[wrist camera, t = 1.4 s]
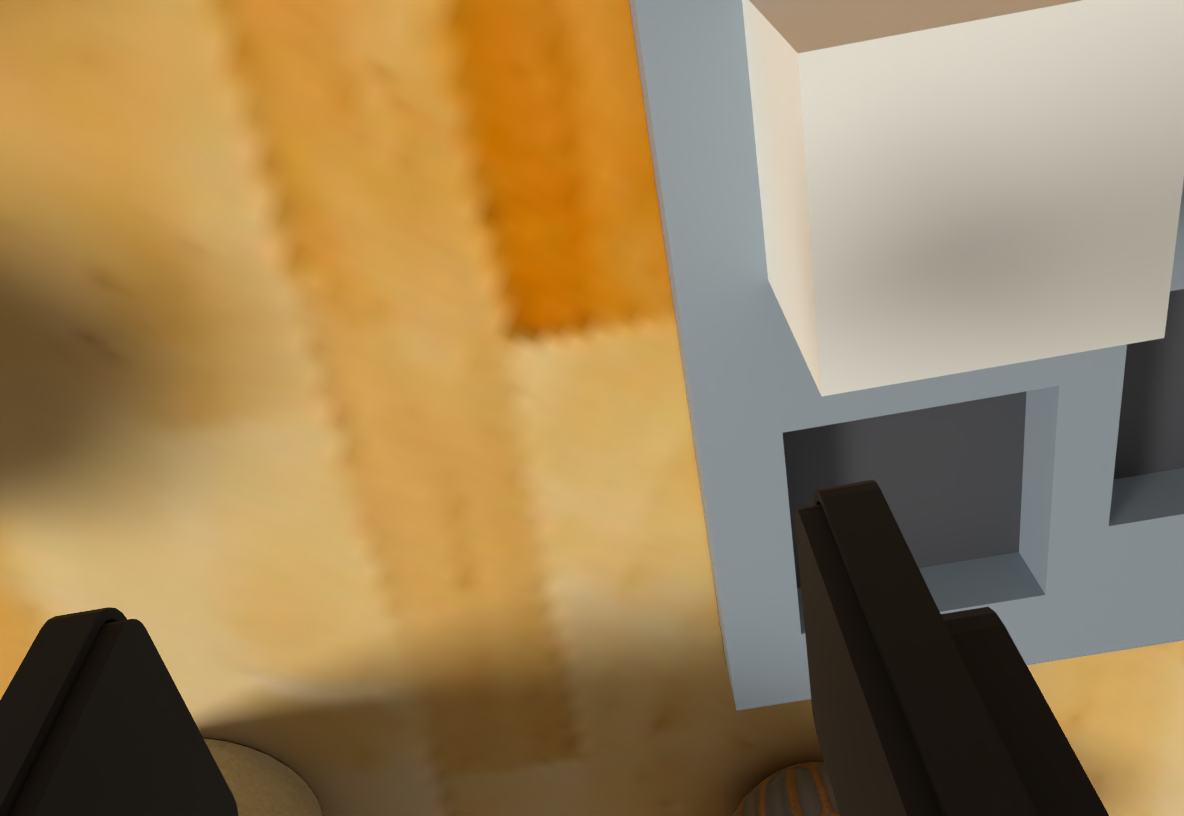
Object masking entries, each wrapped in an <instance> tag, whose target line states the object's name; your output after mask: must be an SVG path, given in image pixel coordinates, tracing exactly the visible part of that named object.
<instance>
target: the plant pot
mask: <svg viewBox="0 0 1184 816" xmlns="http://www.w3.org/2000/svg"><path fill="white" fill-rule="evenodd" d="M203 739H204V738H203ZM204 741H205V742H206V744H207V746H208V748H209V750H210V752H211V754H212V756H213V758H214V760H215V762H216V763H217V765H218V767H219V769H220V771H221V773H222V775H223V777H224V779H225V781H226V783H227V784H228V786H229V788H230V790H231V792H232V794H233V796H234V798H235V801H236V804H237V809H238V816H323V814H322V811H321V807H320V804H319V802H318V800H317V798H316V796H315V795H314V793H313V792H312V790H311V789H310V788H309V786H308V785H307V784H306V783H305V781H304V780H303V779H302V778H300V777H299V776H298V775H297V774H296V773H295V772H294V771H293V770H292V769H291V768H289V767H287V766H286V765H284V764H282V763H281V762H279V761H277V760H276V759H274V758H272V757H271V756H269V755H266V754H264V753H261V752H259V751H257V750H254V749H252V748H249V747H246V746H242V745H238V744H234V743H230V742H227V741H220V740H213V739H204Z"/></svg>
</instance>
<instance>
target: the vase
mask: <svg viewBox="0 0 1184 816" xmlns="http://www.w3.org/2000/svg"><path fill="white" fill-rule="evenodd" d="M732 816H840V813H839V810H838V807H837V803H836V800H835V796H834V793H833V790H832V786H831V783H830V779H829V776H828V773H827V769H826V766H825V762H806V763H800V764H795V765H792V766H788V767H786V768H783V769H781V770H778V771H776V772H775V773H773V774H771V775H769V776H768V777H766V778H765V779H764V780H762V781H761V782H760V783H759V784H758V785H757V786H755V787H754V788H753V789H752V790H751V791H750V792H749V793H748V794H747V795H746V796H745V798H744V799H743V800H742V801H741V803H740V804H739V805H738V807H737V809H736V810H735V812H734V813H733V815H732Z"/></svg>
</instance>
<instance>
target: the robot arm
mask: <svg viewBox="0 0 1184 816" xmlns="http://www.w3.org/2000/svg"><path fill="white" fill-rule="evenodd" d="M795 527H796V538H797V549H798V560H799V571H800V581H801V592H802V603H803V614H804V625H805V636H806V647H807V658H808V669H809V680H810V691H811V702H812V711H813V717H814V723H815V728H816V733H817V737H818V741H819V745H820V749H821V752H822V755H823V759H824V762H825V766H826V769H827V773H828V776H829V779H830V783H831V786H832V790H833V793H834V796H835V800H836V803H837V807H838V810H839V813H840V816H1109V815H1108V813H1107V811H1106V809H1105V808H1104V806H1103V804H1102V802H1101V800H1100V798H1099V797H1098V795H1097V793H1096V791H1095V789H1094V787H1093V786H1092V784H1091V782H1090V780H1089V778H1088V777H1087V775H1086V773H1085V771H1084V769H1083V767H1082V766H1081V764H1080V762H1079V760H1078V758H1077V756H1076V755H1075V753H1074V751H1073V749H1072V747H1071V746H1070V744H1069V742H1068V740H1067V738H1066V736H1065V735H1064V733H1063V731H1062V729H1061V727H1060V725H1059V724H1058V722H1057V720H1056V718H1055V716H1054V715H1053V713H1052V711H1051V709H1050V707H1049V705H1048V704H1047V702H1046V700H1045V698H1044V696H1043V694H1042V693H1041V691H1040V689H1039V687H1038V685H1037V684H1036V682H1035V680H1034V678H1033V676H1032V674H1031V673H1030V671H1029V669H1028V667H1027V665H1026V663H1025V662H1024V660H1023V658H1022V656H1021V654H1020V653H1019V651H1018V649H1017V647H1016V645H1015V643H1014V642H1013V640H1012V638H1011V636H1010V634H1009V632H1008V631H1007V629H1006V627H1005V625H1004V624H1003V622H1002V621H1001V619H1000V618H999V616H998V615H997V613H996V612H995V611H993V610H992V609H991V608H990V607H983V608H976V609H970V610H964V611H958V612H952V613H945V614H940V612H939V610H938V607H937V605H936V603H935V601H934V599H933V597H932V595H931V593H930V591H929V589H928V587H927V585H926V582H925V580H924V578H923V576H922V574H921V572H920V570H919V568H918V566H917V564H916V562H915V560H914V558H913V555H912V553H911V551H910V549H909V547H908V545H907V543H906V541H905V539H904V537H903V535H902V533H901V530H900V528H899V526H898V524H897V522H896V520H895V518H894V516H893V514H892V512H891V510H890V508H889V505H888V503H887V501H886V499H885V497H884V495H883V493H882V491H881V489H880V487H879V485H878V484H877V482H876V481H874V480H868V481H862V482H856V483H850V484H844V485H838V486H832V487H826V488H820V489H816V490H815V491H814V505H813V506H807V507H801V508H796V509H795ZM0 816H238V809H237V804H236V801H235V798H234V796H233V794H232V792H231V790H230V788H229V786H228V784H227V783H226V781H225V779H224V777H223V775H222V773H221V771H220V769H219V767H218V765H217V763H216V762H215V760H214V758H213V756H212V754H211V752H210V750H209V748H208V746H207V744H206V742H205V741H204V739H203V737H202V735H201V733H200V731H199V729H198V727H197V725H196V723H195V722H194V720H193V718H192V716H191V714H190V712H189V710H188V708H187V706H186V704H185V702H184V701H183V699H182V697H181V695H180V693H179V691H178V689H177V687H176V685H175V683H174V681H173V680H172V678H171V676H170V674H169V672H168V670H167V668H166V666H165V664H164V662H163V660H162V659H161V657H160V655H159V653H158V651H157V649H156V647H155V645H154V643H153V641H152V639H151V638H150V636H149V634H148V632H147V630H146V628H145V627H144V625H143V624H142V623H141V622H140V621H138V620H137V619H129V620H127V619H126V617H125V616H124V614H123V613H122V612H120V611H119V610H118V609H116V608H103V609H97V610H91V611H85V612H79V613H73V614H67V615H61V616H55V617H53V618H51V619H49V620H48V621H47V622H46V623H45V624H44V626H43V627H42V628H41V630H40V631H39V633H38V635H37V637H36V639H35V640H34V642H33V644H32V646H31V647H30V649H29V651H28V653H27V654H26V656H25V658H24V660H23V661H22V663H21V665H20V667H19V669H18V670H17V672H16V674H15V676H14V677H13V679H12V681H11V683H10V684H9V686H8V688H7V690H6V691H5V693H4V695H3V697H2V699H1V700H0Z"/></svg>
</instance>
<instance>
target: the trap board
mask: <svg viewBox="0 0 1184 816" xmlns="http://www.w3.org/2000/svg"><path fill="white" fill-rule="evenodd" d="M629 2H630V9H631V16H632V23H633V30H634V37H635V44H636V50H637V57H638V64H639V71H640V78H641V85H642V91H643V98H644V105H645V112H646V119H647V126H648V133H649V139H650V146H651V153H652V160H653V167H654V174H655V181H656V187H657V194H658V201H659V208H660V215H661V222H662V229H663V235H664V242H665V249H666V256H667V263H668V270H669V277H670V283H671V290H672V297H673V304H674V311H675V318H676V325H677V331H678V338H679V345H680V352H681V359H682V366H683V373H684V379H685V386H686V393H687V400H688V407H689V414H690V421H691V427H692V434H693V441H694V448H695V455H696V462H697V468H698V475H699V482H700V489H701V496H702V503H703V510H704V516H705V523H706V530H707V537H708V544H709V551H710V558H711V564H712V571H713V578H714V585H715V592H716V599H717V606H718V612H719V619H720V626H721V633H722V640H723V647H724V654H725V660H726V665H727V669H728V674H729V679H730V683H731V688H732V693H733V697H734V702H735V706H736V711H739V710H745V709H751V708H758V707H764V706H770V705H777V704H783V703H789V702H796V701H802V700H808V699H811V691H810V680H809V669H808V658H807V647H806V636H805V625H804V614H803V603H802V592H801V581H800V571H799V560H798V549H797V538H796V527H795V509H796V508H801V507H807V506H813V505H814V491H815V490H816V489H820V488H826V487H832V486H838V485H844V484H850V483H856V482H862V481H868V480H874V481H876V482H877V484H878V485H879V487H880V489H881V491H882V493H883V495H884V497H885V499H886V501H887V503H888V505H889V508H890V510H891V512H892V514H893V516H894V518H895V520H896V522H897V524H898V526H899V528H900V530H901V533H902V535H903V537H904V539H905V541H906V543H907V545H908V547H909V549H910V551H911V553H912V555H913V558H914V560H915V562H916V564H917V566H918V568H919V570H920V572H921V574H922V576H923V578H924V580H925V582H926V585H927V587H928V589H929V591H930V593H931V595H932V597H933V599H934V601H935V603H936V605H937V607H938V610H939V612H940V614H945V613H952V612H958V611H964V610H970V609H976V608H983V607H990V608H991V609H992V610H993V611H995V612H996V613H997V615H998V616H999V618H1000V619H1001V621H1002V622H1003V624H1004V625H1005V627H1006V629H1007V631H1008V632H1009V634H1010V636H1011V638H1012V640H1013V642H1014V643H1015V645H1016V647H1017V649H1018V651H1019V653H1020V654H1021V656H1022V658H1023V660H1024V662H1025V663H1026V665H1030V664H1036V663H1043V662H1049V661H1055V660H1062V659H1068V658H1074V657H1081V656H1087V655H1093V654H1100V653H1106V652H1112V651H1119V650H1125V649H1131V648H1138V647H1144V646H1150V645H1157V644H1163V643H1169V642H1176V641H1182V640H1184V180H1183V189H1182V197H1181V205H1180V213H1179V221H1178V230H1177V238H1176V246H1175V254H1174V262H1173V271H1172V279H1171V287H1170V295H1169V304H1168V312H1167V320H1166V328H1165V336H1164V338H1161V339H1155V340H1149V341H1144V342H1138V343H1132V344H1126V345H1120V346H1114V347H1109V348H1103V349H1097V350H1091V351H1085V352H1079V353H1073V354H1068V355H1062V356H1056V357H1050V358H1044V359H1038V360H1033V361H1027V362H1021V363H1015V364H1009V365H1003V366H997V367H992V368H986V369H980V370H974V371H968V372H962V373H957V374H951V375H945V376H939V377H933V378H927V379H921V380H916V381H910V382H904V383H898V384H892V385H886V386H881V387H875V388H869V389H863V390H857V391H851V392H845V393H840V394H834V395H828V396H821V394H820V392H819V390H818V387H817V385H816V383H815V381H814V379H813V377H812V374H811V372H810V370H809V368H808V366H807V363H806V361H805V359H804V357H803V355H802V353H801V350H800V348H799V346H798V344H797V342H796V339H795V337H794V335H793V333H792V331H791V329H790V326H789V324H788V322H787V320H786V318H785V315H784V313H783V311H782V309H781V307H780V305H779V302H778V300H777V298H776V296H775V294H774V291H773V289H772V287H771V285H770V283H769V281H768V273H767V262H766V251H765V241H764V230H763V219H762V209H761V198H760V187H759V177H758V166H757V155H756V144H755V134H754V123H753V112H752V102H751V91H750V80H749V70H748V59H747V48H746V37H745V27H744V16H743V5H742V0H629Z"/></svg>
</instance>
